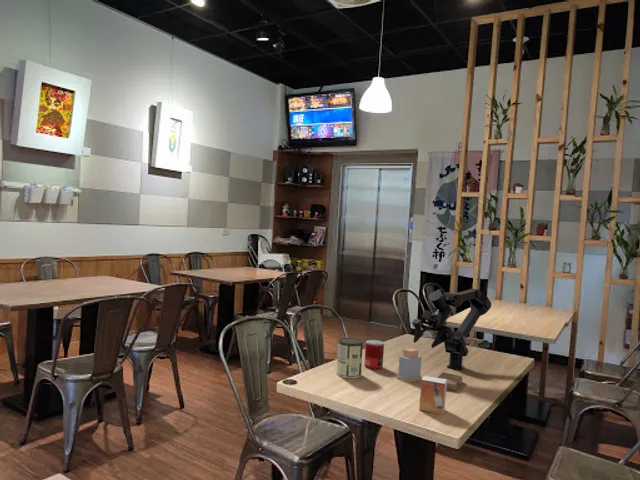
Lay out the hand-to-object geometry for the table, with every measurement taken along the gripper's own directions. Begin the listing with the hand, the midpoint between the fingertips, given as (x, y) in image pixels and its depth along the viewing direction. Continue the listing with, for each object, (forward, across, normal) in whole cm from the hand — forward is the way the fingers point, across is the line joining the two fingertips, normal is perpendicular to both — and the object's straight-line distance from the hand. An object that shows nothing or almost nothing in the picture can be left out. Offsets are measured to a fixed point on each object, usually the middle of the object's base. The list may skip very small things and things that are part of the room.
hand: (422, 344), depth 198 cm
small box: (+29, +26, -10) cm, 40 cm away
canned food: (+16, -19, +3) cm, 25 cm away
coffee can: (+28, -16, -9) cm, 33 cm away
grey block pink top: (+15, 0, +4) cm, 15 cm away
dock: (+9, +13, +10) cm, 18 cm away
